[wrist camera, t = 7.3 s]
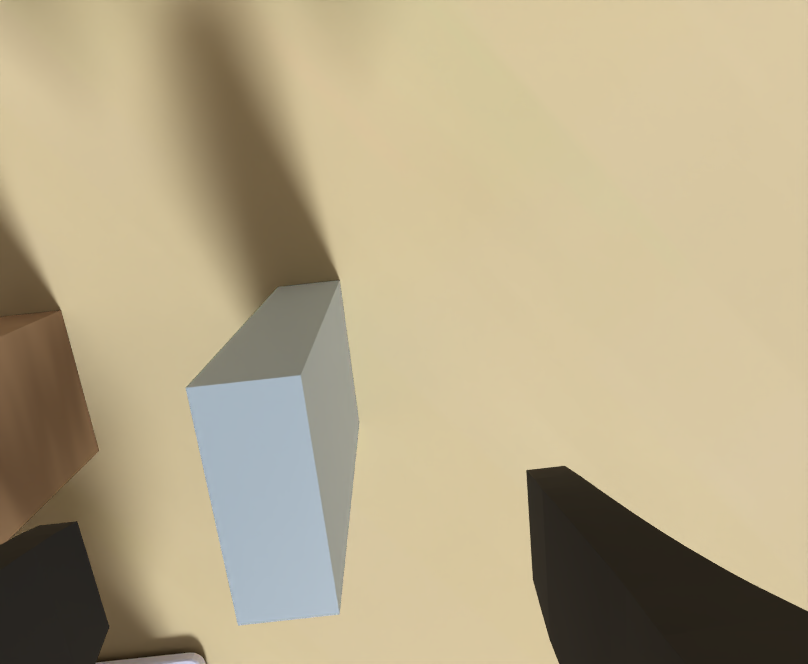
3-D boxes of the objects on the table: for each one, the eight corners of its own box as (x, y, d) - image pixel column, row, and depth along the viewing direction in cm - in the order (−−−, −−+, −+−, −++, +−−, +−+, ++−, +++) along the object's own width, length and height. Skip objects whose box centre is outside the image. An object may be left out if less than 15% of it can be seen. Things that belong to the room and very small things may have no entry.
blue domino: (359, 422, 20) (339, 614, 11) (301, 429, 20) (237, 625, 11) (339, 279, 19) (300, 375, 10) (277, 286, 19) (185, 388, 10)
